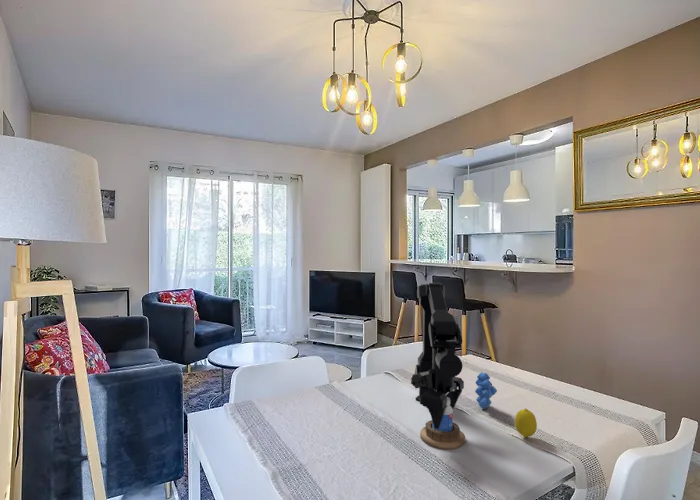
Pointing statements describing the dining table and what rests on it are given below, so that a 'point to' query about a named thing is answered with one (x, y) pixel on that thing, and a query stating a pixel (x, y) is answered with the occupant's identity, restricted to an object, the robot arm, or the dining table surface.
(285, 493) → the dining table surface
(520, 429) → the lemon
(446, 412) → the pill bottle
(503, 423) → the dining table surface
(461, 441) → the socket
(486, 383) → the grapes
